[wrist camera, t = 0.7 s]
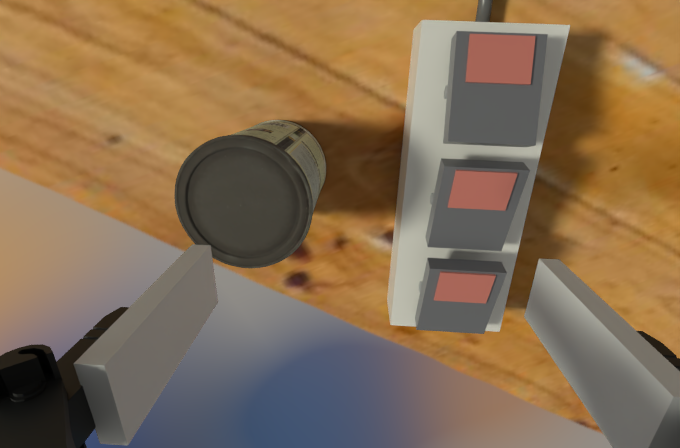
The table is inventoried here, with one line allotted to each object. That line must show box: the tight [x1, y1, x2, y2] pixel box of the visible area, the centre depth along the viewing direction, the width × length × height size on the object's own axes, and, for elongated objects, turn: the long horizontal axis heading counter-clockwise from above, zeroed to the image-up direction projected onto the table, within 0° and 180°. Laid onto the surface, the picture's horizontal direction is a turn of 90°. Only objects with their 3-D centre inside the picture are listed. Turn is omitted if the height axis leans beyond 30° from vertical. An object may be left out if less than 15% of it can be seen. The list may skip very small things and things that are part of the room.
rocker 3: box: [415, 258, 507, 334], centre depth 36 cm, size 8×7×2 cm
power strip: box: [387, 0, 570, 332], centre depth 36 cm, size 35×12×6 cm, turn 178°
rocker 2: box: [425, 158, 530, 251], centre depth 33 cm, size 8×7×2 cm
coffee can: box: [175, 120, 326, 268], centre depth 33 cm, size 10×10×14 cm
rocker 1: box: [443, 31, 548, 147], centre depth 29 cm, size 8×7×2 cm
